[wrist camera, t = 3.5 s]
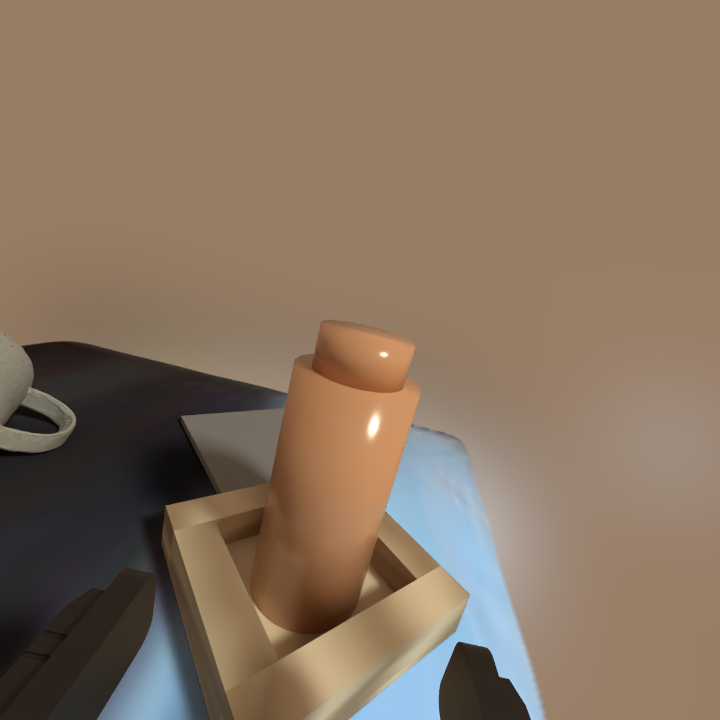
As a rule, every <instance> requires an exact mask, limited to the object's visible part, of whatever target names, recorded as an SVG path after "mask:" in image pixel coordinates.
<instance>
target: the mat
mask: <svg viewBox="0 0 720 720" xmlns="http://www.w3.org/2000/svg"><path fill="white" fill-rule="evenodd" d="M284 410H285V408H283V409H269V410H256V411H243V412H229V413H216V414H202V415H189V416H181V424H182V426H183V428H184V430H185V432H186V434H187V436H188V438H189V439H190V441H191V443H192V445H193V447H194V449H195V451H196V453H197V455H198V457H199V459H200V461H201V463H202V465H203V467H204V469H205V471H206V473H207V475H208V477H209V479H210V481H211V483H212V485H213V487H214V489H215V491H216V493H217V494H221V493H225V492H230V491H234V490H239V489H243V488H248V487H252V486H257V485H261V484H266V483H270V479H271V474H272V469H273V464H274V459H275V454H276V449H277V444H278V439H279V434H280V429H281V424H282V420H283V415H284Z"/></svg>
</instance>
